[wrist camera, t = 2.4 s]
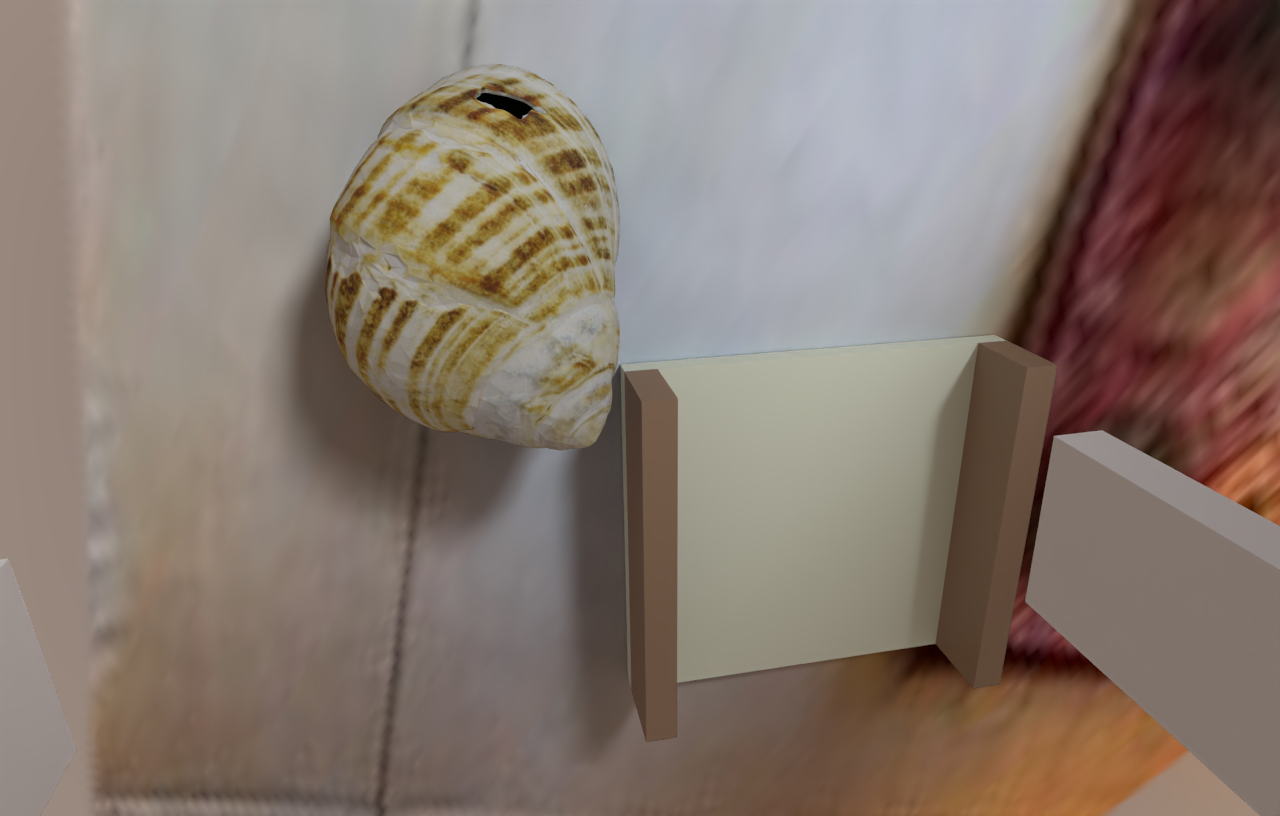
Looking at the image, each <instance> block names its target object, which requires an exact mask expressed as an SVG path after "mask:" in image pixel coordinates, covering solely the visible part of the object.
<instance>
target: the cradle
mask: <svg viewBox="0 0 1280 816" xmlns="http://www.w3.org/2000/svg"><path fill="white" fill-rule="evenodd" d="M1057 366H1058V365H1056V364H1054V363H1052V362H1050V361H1048V360H1046V359H1044V358H1042V357H1040V356H1038V355H1036V354H1033V353H1031V352H1029V351H1027V350H1025V349H1023V348H1021V347H1019V346H1017V345H1015V344H1013V343H1010V342H1008V341H1006V340H1004V339H1002V338H1000V337H998V336H996V335H986V336H973V337H960V338H948V339H935V340H922V341H910V342H897V343H885V344H872V345H859V346H847V347H834V348H821V349H809V350H796V351H784V352H771V353H758V354H746V355H733V356H720V357H708V358H695V359H683V360H670V361H657V362H645V363H632V364H620V372H621V414H622V456H623V497H624V539H625V581H626V622H627V664H628V680H629V683H630V687H631V690H632V694H633V697H634V701H635V704H636V708H637V711H638V715H639V718H640V721H641V725H642V728H643V732H644V735H645V739H646V742H651V741H657V740H663V739H669V738H675V737H677V683H680V682H686V681H693V680H700V679H706V678H713V677H719V676H726V675H733V674H739V673H746V672H752V671H759V670H766V669H772V668H779V667H785V666H792V665H799V664H805V663H812V662H818V661H825V660H832V659H838V658H845V657H851V656H858V655H865V654H871V653H878V652H884V651H891V650H898V649H904V648H911V647H917V646H924V645H931V644H936V645H937V646H938V647H939V649H940V650H941V651H942V652H943V653H944V654H945V656H946V657H947V658H948V659H949V660H950V662H951V663H952V664H953V665H954V666H955V667H956V669H957V670H958V671H959V672H960V673H961V675H962V676H963V677H964V678H965V679H966V680H967V682H968V683H969V684H970V685H971V686H972V688H973V689H975V688H981V687H987V686H993V685H999V684H1000V680H1001V674H1002V669H1003V663H1004V658H1005V652H1006V647H1007V641H1008V636H1009V630H1010V625H1011V619H1012V614H1013V608H1014V603H1015V597H1016V592H1017V586H1018V581H1019V575H1020V570H1021V564H1022V559H1023V553H1024V548H1025V542H1026V537H1027V531H1028V526H1029V520H1030V515H1031V509H1032V504H1033V498H1034V493H1035V487H1036V482H1037V476H1038V471H1039V465H1040V460H1041V454H1042V449H1043V443H1044V438H1045V432H1046V427H1047V421H1048V416H1049V410H1050V405H1051V399H1052V394H1053V388H1054V383H1055V377H1056V372H1057Z"/></svg>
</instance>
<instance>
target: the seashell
mask: <svg viewBox="0 0 1280 816" xmlns="http://www.w3.org/2000/svg"><path fill="white" fill-rule="evenodd" d="M481 93H491V94H495V95H501V96H506V97H509V98H512V99H516V100H519V101H522V102H525V103H526V104H528V105H529V106H531V107H532V108H533V109H534V110H536V111H534V110H530V111H529V113H528V114H527V115H524V116H523V117H522V119H518V118H516V117H515V116H513V115H512V114H510V113H508V112H506V111H504V110H501V109H495V108H494V107H493V106H492V105H490V104H487V103H484V102H480V101H478V100H477V99H476V98H477V97H479V96H480V95H481ZM537 111H538V112H537ZM619 238H620V214H619V205H618V198H617V192H616V184H615V179H614V173H613V168H612V166H611V163H610V161H609V158H608V156H607V153H606V151H605V149H604V147H603V145H602V143H601V140H600V138H599V136H598V134H597V133H596V131H595V130H594V128H593V126H592V125H591V123H590V122H589V120H588V119H587V118H586V117H585V115H584V114H583V113H582V112H581V110H580V109H579V108H578V107H577V105H576V104H575V103H574V102H573V101H572V100H571V99H570V98H568V97H567V96H566V95H565V94H564V93H563V92H562V91H561V90H559V89H558V88H557V87H555V86H554V85H553V84H551V83H550V82H548V81H546V80H544V79H542V78H540V77H539V76H537V75H536V74H534V73H531V72H529V71H526V70H523V69H521V68H518V67H513V66H507V65H501V64H494V65H482V66H476V67H472V68H468V69H465V70H462V71H460V72H457V73H455V74H452V75H450V76H447V77H444V78H442V79H441V80H439V81H438V82H437V83H435V84H434V85H433V86H431V87H430V88H429V89H428V90H427V91H426V92H423V93H421V94H419V95H417V96H416V97H414V98H412V99H411V100H409V101H408V102H407V103H405V104H404V105H403V106H402V107H400V108H399V109H398V110H397V111H395V112H394V113H393V114H392V115H391V116H390V117H389V118H388V119H387V121H386V122H385V123H384V125H383V126H382V128H381V131H380V133H379V135H378V138H377V140H376V141H375V142H374V143H373V144H372V145H371V146H370V147H369V149H368V150H367V152H366V153H365V155H364V156H363V157H362V159H361V160H360V162H359V163H358V165H357V166H356V168H355V169H354V171H353V173H352V175H351V177H350V178H349V180H348V182H347V184H346V186H345V188H344V189H343V191H342V193H341V195H340V197H339V199H338V200H337V202H336V204H335V206H334V208H333V211H332V213H331V217H330V240H329V243H328V251H327V275H326V289H325V291H326V300H327V305H328V310H329V314H330V319H331V323H332V327H333V330H334V334H335V337H336V339H337V342H338V345H339V347H340V350H341V352H342V355H343V357H344V358H345V360H346V362H347V364H348V365H349V367H350V368H351V370H352V371H353V372H354V373H355V374H356V375H357V376H358V377H359V378H360V379H361V380H362V381H363V382H364V383H365V384H366V385H367V386H368V387H369V388H370V389H371V390H372V391H373V392H374V394H375V395H376V396H377V397H378V398H380V399H381V400H382V401H383V402H384V403H385V404H387V405H388V406H390V407H391V408H393V409H394V410H396V411H397V412H399V413H400V414H402V415H404V416H406V417H407V418H409V419H411V420H413V421H416V422H418V423H420V424H422V425H424V426H427V427H429V428H432V429H434V430H438V431H443V432H456V431H460V432H464V433H466V434H470V435H474V436H478V437H483V438H486V439H499V440H502V441H505V442H508V443H511V444H515V445H518V446H522V447H526V448H549V449H555V450H567V449H571V448H572V449H581V448H585V447H589V446H591V445H592V444H593V443H594V442H596V440H597V439H598V437H599V435H600V433H601V431H602V429H603V427H604V425H605V422H606V419H607V415H608V414H609V413H610V410H611V404H612V386H611V378H612V375H613V374H614V371H615V369H616V365H617V360H618V349H619V333H620V326H619V321H618V316H617V311H616V309H615V306H614V296H615V277H614V267H615V263H616V260H617V255H618V248H619Z"/></svg>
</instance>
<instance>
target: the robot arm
mask: <svg viewBox="0 0 1280 816" xmlns="http://www.w3.org/2000/svg"><path fill="white" fill-rule="evenodd" d="M1025 602H1026V603H1027V604H1028V605H1029V606H1030V607H1031V608H1033V609H1034V610H1035V611H1036V612H1037V613H1038V614H1039V615H1040V616H1041V617H1042V618H1044V619H1045V620H1046V621H1047V622H1048V623H1049V624H1050V625H1051V626H1052V627H1053V628H1055V629H1056V630H1057V631H1058V632H1059V633H1060V634H1061V635H1062V636H1063V637H1064V638H1066V639H1067V640H1068V641H1069V642H1070V643H1071V644H1072V645H1073V646H1074V647H1075V648H1077V649H1078V650H1079V651H1080V652H1081V653H1082V654H1083V655H1084V656H1085V657H1086V658H1088V659H1089V660H1090V661H1091V662H1092V663H1093V664H1094V665H1095V666H1096V667H1097V668H1098V669H1100V670H1101V671H1102V672H1103V673H1104V674H1105V675H1106V676H1107V677H1108V678H1109V679H1111V680H1112V681H1113V682H1114V683H1115V684H1116V685H1117V686H1118V687H1119V688H1120V689H1122V690H1123V691H1124V692H1125V693H1126V694H1127V695H1128V696H1129V697H1130V698H1131V699H1133V700H1134V701H1135V702H1136V703H1137V704H1138V705H1139V706H1140V707H1141V708H1142V709H1144V710H1145V711H1146V712H1147V713H1148V714H1149V715H1150V716H1151V717H1152V718H1153V719H1154V720H1156V721H1157V722H1158V723H1159V724H1160V725H1161V726H1162V727H1163V728H1164V729H1165V730H1167V731H1168V732H1169V733H1170V734H1171V735H1172V736H1173V737H1174V738H1175V739H1176V740H1178V741H1179V742H1180V743H1181V744H1182V745H1183V746H1184V747H1185V748H1186V749H1187V750H1189V751H1190V752H1191V753H1192V754H1193V755H1194V756H1195V757H1196V758H1197V759H1199V760H1200V761H1201V762H1202V763H1203V764H1204V765H1205V766H1206V767H1207V768H1208V769H1210V770H1211V771H1212V772H1213V773H1214V774H1215V775H1216V776H1217V777H1218V778H1219V779H1220V780H1222V781H1223V782H1224V783H1225V784H1226V785H1227V786H1228V787H1229V788H1230V789H1231V790H1232V791H1234V792H1235V793H1236V794H1237V795H1238V796H1239V797H1240V798H1241V799H1242V800H1243V801H1245V802H1246V803H1247V804H1248V805H1249V806H1250V807H1251V808H1252V809H1253V810H1255V811H1256V812H1257V813H1258V814H1259V815H1260V816H1280V526H1278V525H1277V524H1275V523H1273V522H1271V521H1269V520H1267V519H1265V518H1264V517H1262V516H1260V515H1258V514H1256V513H1254V512H1252V511H1251V510H1249V509H1247V508H1245V507H1243V506H1241V505H1239V504H1238V503H1236V502H1234V501H1232V500H1230V499H1228V498H1226V497H1225V496H1223V495H1221V494H1219V493H1217V492H1215V491H1214V490H1212V489H1210V488H1208V487H1206V486H1204V485H1202V484H1201V483H1199V482H1197V481H1195V480H1193V479H1191V478H1189V477H1188V476H1186V475H1184V474H1182V473H1180V472H1178V471H1176V470H1175V469H1173V468H1171V467H1169V466H1167V465H1165V464H1163V463H1162V462H1160V461H1158V460H1156V459H1154V458H1152V457H1150V456H1149V455H1147V454H1145V453H1143V452H1141V451H1139V450H1137V449H1136V448H1134V447H1132V446H1130V445H1128V444H1126V443H1125V442H1123V441H1121V440H1119V439H1117V438H1115V437H1113V436H1112V435H1110V434H1108V433H1106V432H1104V431H1102V430H1101V431H1092V432H1084V433H1075V434H1067V435H1058V436H1054V439H1053V445H1052V450H1051V456H1050V462H1049V468H1048V473H1047V479H1046V485H1045V491H1044V496H1043V502H1042V508H1041V513H1040V519H1039V525H1038V531H1037V536H1036V542H1035V548H1034V554H1033V559H1032V565H1031V571H1030V577H1029V582H1028V588H1027V594H1026V599H1025ZM75 753H76V747H75V744H74V742H73V739H72V736H71V733H70V730H69V728H68V725H67V722H66V719H65V716H64V713H63V710H62V708H61V705H60V702H59V699H58V696H57V694H56V691H55V688H54V685H53V682H52V679H51V677H50V674H49V671H48V668H47V666H46V662H45V660H44V657H43V654H42V651H41V649H40V646H39V643H38V640H37V637H36V634H35V631H34V628H33V626H32V623H31V620H30V617H29V614H28V611H27V609H26V606H25V603H24V600H23V597H22V595H21V592H20V589H19V586H18V583H17V580H16V578H15V575H14V572H13V569H12V566H11V564H10V561H9V559H2V560H0V816H40V815H41V813H42V812H43V810H44V808H45V806H46V805H47V803H48V801H49V799H50V797H51V796H52V794H53V792H54V790H55V788H56V787H57V785H58V783H59V781H60V779H61V778H62V776H63V774H64V772H65V771H66V769H67V767H68V765H69V763H70V762H71V760H72V758H73V756H74V754H75Z"/></svg>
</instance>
